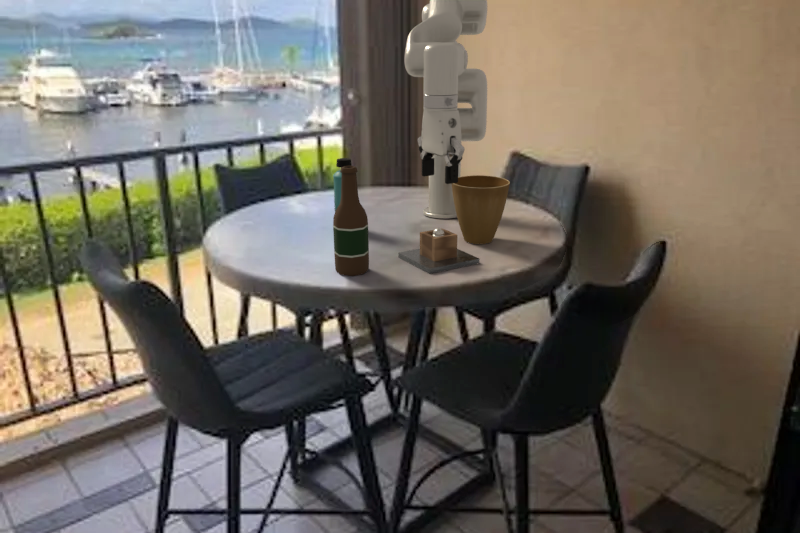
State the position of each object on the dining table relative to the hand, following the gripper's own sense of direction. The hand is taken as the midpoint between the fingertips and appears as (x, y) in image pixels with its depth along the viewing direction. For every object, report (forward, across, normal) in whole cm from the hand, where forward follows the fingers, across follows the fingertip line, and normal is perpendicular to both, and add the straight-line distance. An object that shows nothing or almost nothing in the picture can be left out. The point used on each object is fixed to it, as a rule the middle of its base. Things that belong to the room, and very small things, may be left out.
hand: (439, 179), depth 144 cm
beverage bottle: (+20, +36, +7) cm, 42 cm away
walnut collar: (+18, 0, 0) cm, 18 cm away
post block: (+20, 0, 0) cm, 20 cm away
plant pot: (+20, +8, -18) cm, 28 cm away
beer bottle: (+20, +4, +21) cm, 29 cm away
